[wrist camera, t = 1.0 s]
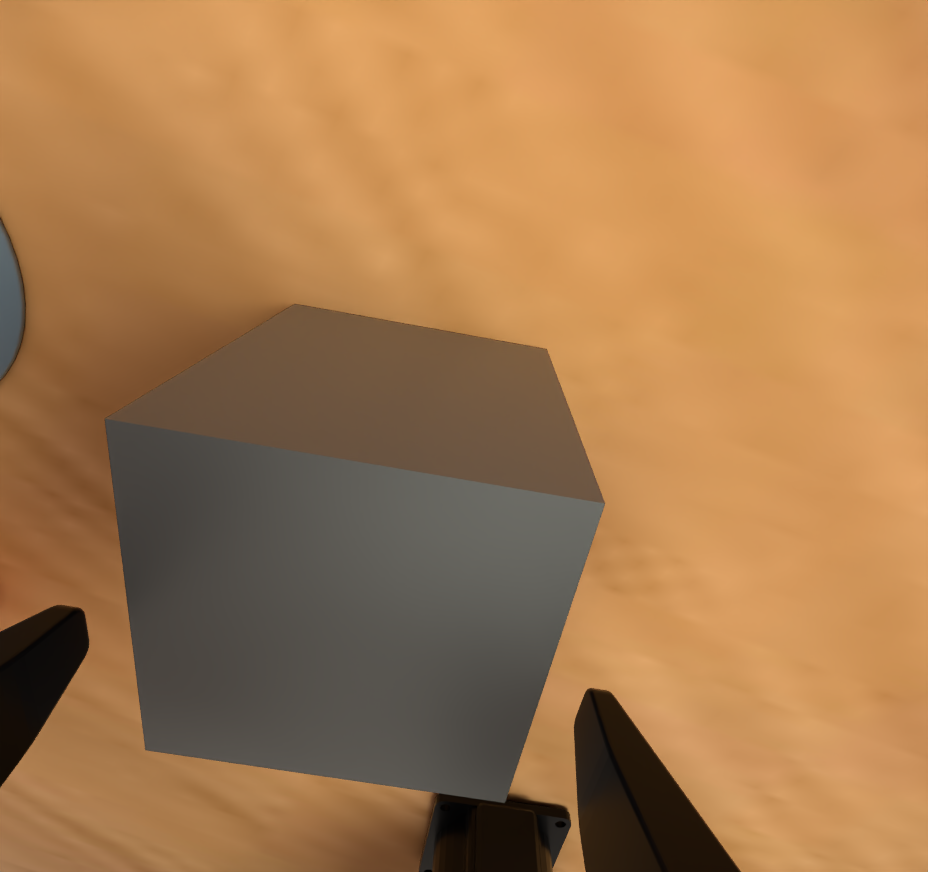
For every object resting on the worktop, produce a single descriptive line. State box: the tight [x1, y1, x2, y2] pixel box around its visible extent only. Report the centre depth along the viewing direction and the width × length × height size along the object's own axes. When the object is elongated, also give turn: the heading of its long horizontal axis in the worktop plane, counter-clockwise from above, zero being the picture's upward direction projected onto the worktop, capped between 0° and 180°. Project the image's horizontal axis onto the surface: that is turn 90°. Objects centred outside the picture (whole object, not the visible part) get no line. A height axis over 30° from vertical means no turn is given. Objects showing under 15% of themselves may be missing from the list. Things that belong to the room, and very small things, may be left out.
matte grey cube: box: [105, 304, 605, 803], centre depth 14 cm, size 8×8×9 cm
